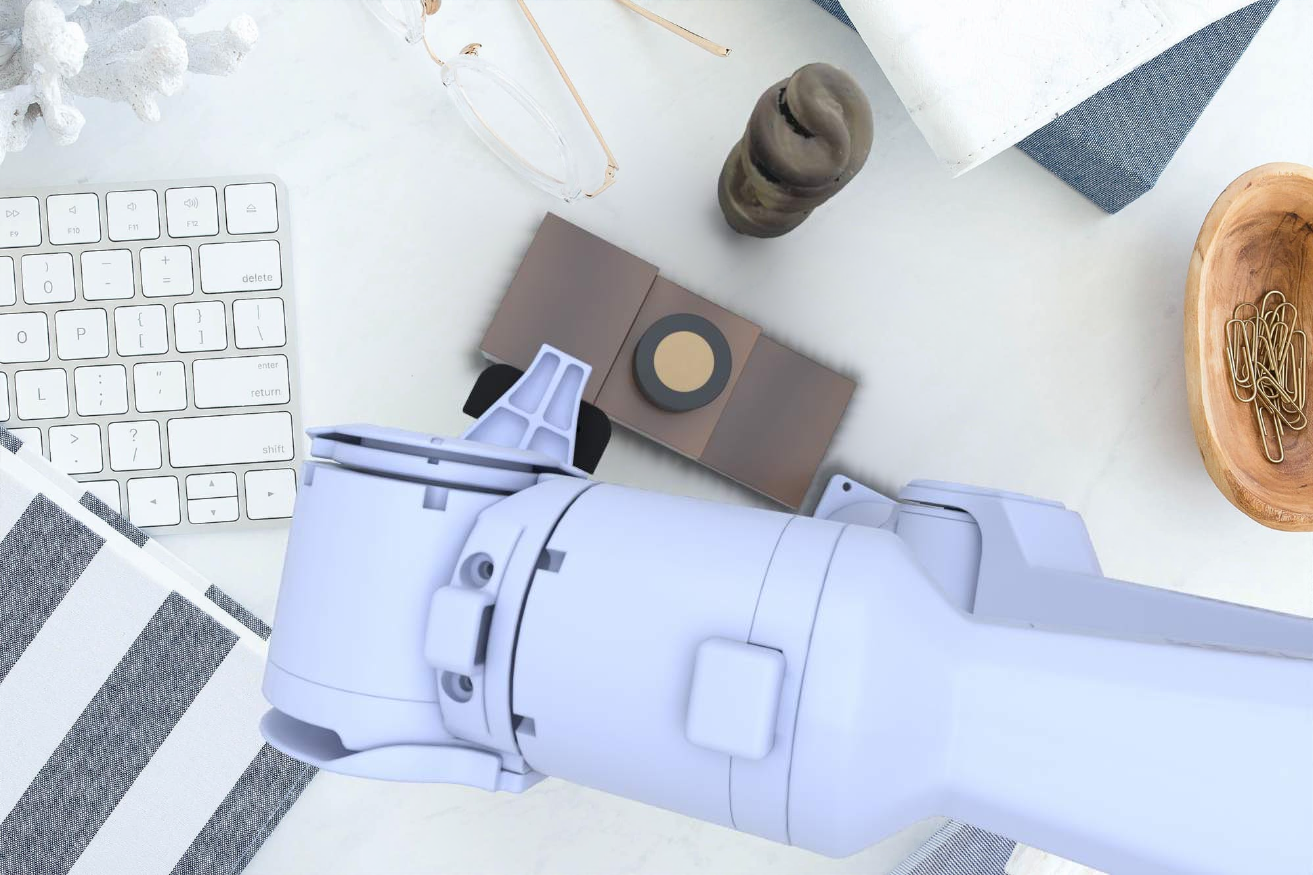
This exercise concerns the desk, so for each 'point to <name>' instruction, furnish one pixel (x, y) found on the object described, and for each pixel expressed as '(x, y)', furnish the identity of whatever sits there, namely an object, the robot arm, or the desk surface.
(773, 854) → the desk surface
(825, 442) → the steps
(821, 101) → the brown carved figurine
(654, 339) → the disc
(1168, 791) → the robot arm
